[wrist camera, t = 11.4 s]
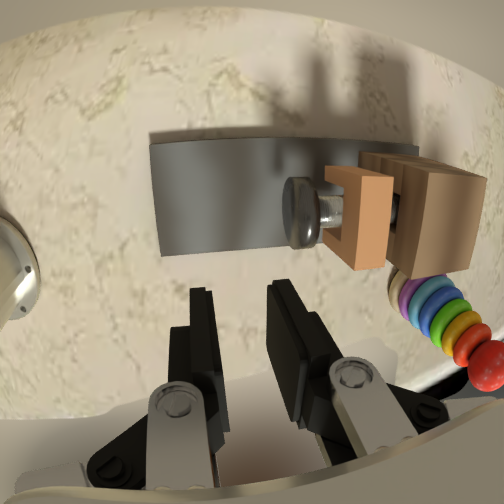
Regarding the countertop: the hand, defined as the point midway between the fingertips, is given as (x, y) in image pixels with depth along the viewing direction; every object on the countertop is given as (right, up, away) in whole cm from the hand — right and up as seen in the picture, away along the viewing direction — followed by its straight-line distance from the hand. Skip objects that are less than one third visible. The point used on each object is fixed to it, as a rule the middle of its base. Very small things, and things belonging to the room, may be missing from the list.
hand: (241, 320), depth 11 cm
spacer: (+7, +6, +14) cm, 17 cm away
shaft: (+10, +7, +15) cm, 19 cm away
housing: (+5, +8, +17) cm, 20 cm away
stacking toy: (+21, -1, +25) cm, 33 cm away
